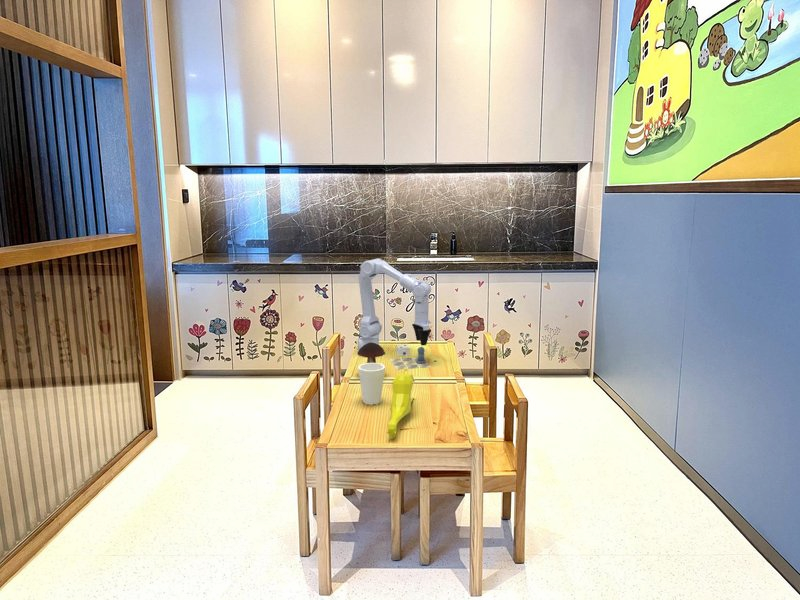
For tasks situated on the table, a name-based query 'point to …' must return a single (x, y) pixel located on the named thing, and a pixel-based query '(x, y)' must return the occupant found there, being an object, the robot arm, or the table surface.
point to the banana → (400, 400)
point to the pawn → (421, 355)
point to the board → (408, 363)
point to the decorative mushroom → (371, 352)
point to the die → (403, 350)
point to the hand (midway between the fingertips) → (421, 342)
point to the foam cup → (371, 382)
